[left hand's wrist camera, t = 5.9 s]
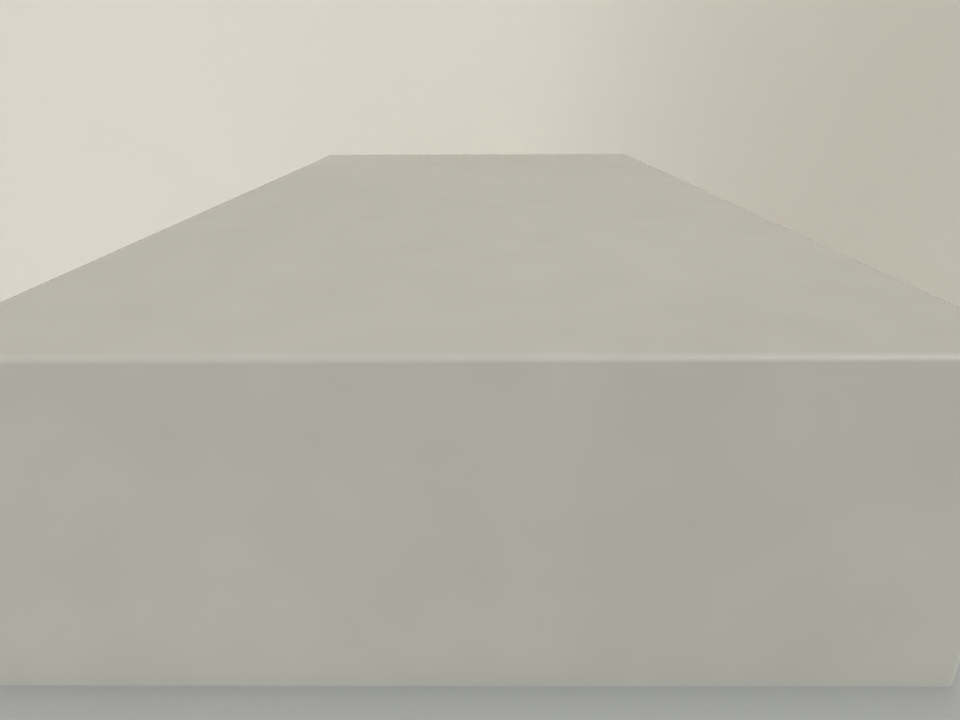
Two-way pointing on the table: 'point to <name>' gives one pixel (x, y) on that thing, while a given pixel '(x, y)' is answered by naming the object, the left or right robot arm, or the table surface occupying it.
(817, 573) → the box
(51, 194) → the table surface
